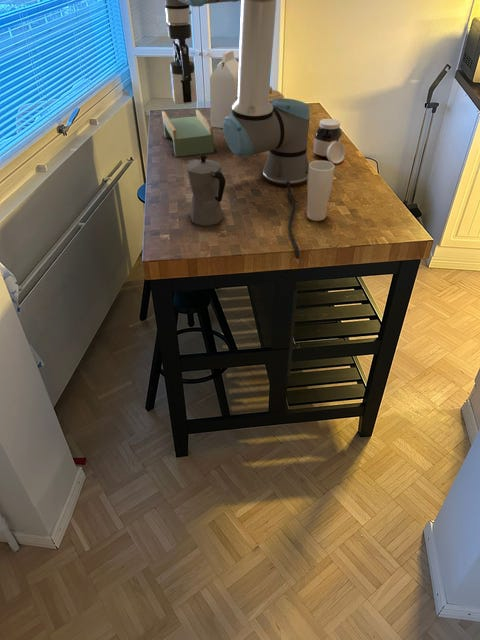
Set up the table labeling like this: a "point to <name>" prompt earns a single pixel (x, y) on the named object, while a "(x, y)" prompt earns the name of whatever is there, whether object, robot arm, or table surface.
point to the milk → (223, 89)
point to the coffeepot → (206, 191)
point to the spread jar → (329, 141)
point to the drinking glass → (319, 189)
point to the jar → (177, 85)
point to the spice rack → (189, 134)
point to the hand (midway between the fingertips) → (184, 98)
